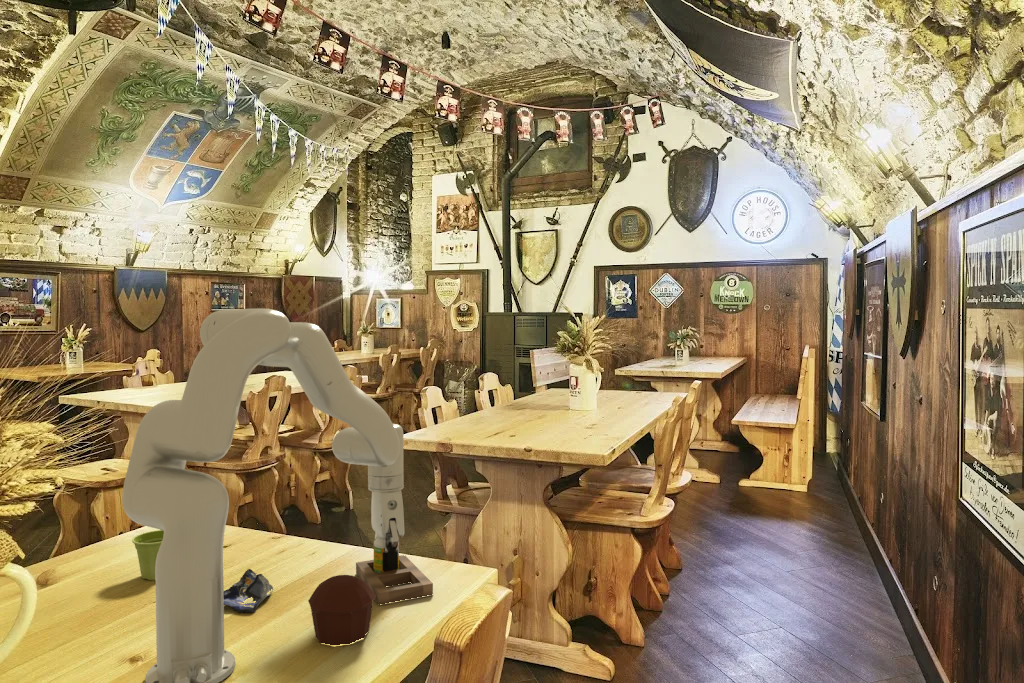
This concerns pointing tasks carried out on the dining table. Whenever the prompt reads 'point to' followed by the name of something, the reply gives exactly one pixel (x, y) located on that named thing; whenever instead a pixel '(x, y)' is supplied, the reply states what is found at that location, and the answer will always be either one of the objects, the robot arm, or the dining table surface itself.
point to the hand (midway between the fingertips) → (386, 564)
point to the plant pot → (148, 551)
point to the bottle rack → (395, 581)
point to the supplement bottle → (380, 554)
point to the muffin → (341, 609)
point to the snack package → (247, 592)
